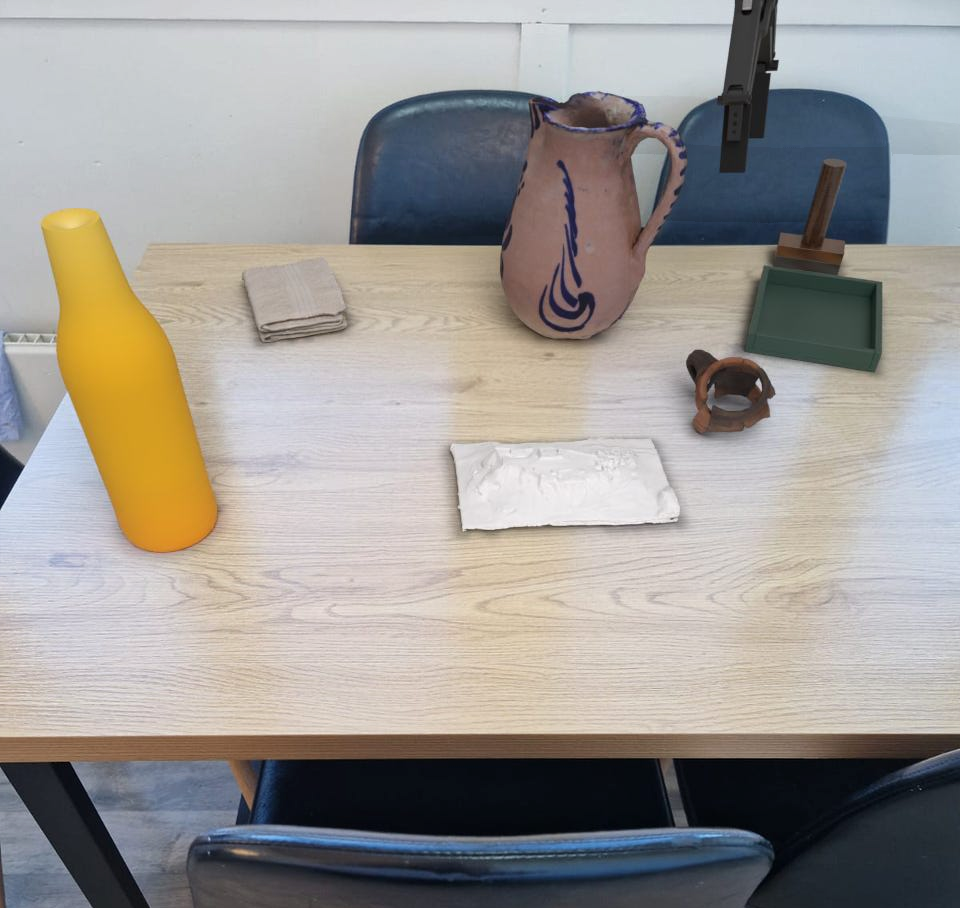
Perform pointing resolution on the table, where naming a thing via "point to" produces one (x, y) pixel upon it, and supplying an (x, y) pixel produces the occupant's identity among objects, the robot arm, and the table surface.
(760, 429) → the table surface
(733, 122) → the robot arm
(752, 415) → the broken clay pot
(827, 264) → the brush
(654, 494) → the terrain model
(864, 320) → the tray
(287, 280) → the washcloth
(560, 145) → the ceramic pitcher
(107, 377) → the beer bottle
